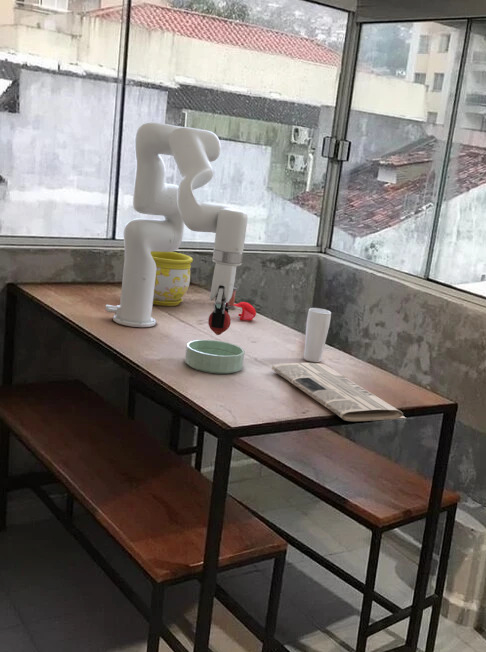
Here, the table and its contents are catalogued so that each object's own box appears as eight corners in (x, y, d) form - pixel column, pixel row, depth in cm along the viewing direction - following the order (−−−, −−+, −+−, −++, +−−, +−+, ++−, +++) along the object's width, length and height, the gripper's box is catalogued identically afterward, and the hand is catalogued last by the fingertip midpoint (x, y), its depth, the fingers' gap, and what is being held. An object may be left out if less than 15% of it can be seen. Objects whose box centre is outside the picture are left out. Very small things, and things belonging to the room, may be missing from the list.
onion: (224, 339, 211) (228, 309, 209) (203, 334, 212) (207, 305, 210) (231, 335, 216) (235, 305, 214) (211, 330, 217) (214, 301, 215)
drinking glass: (306, 363, 233) (314, 313, 230) (297, 356, 239) (304, 307, 235) (327, 363, 236) (335, 314, 233) (317, 357, 242) (325, 308, 238)
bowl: (179, 369, 208) (182, 350, 207) (190, 354, 223) (192, 336, 222) (238, 378, 209) (241, 359, 208) (245, 362, 224) (247, 345, 223)
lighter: (236, 308, 289) (239, 281, 286) (230, 309, 286) (233, 281, 283) (218, 303, 293) (222, 276, 290) (212, 303, 290) (216, 276, 287)
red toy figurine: (249, 317, 279) (252, 300, 277) (257, 321, 274) (260, 304, 273) (228, 316, 274) (231, 299, 273) (236, 321, 269) (239, 304, 268)
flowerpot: (122, 297, 276) (127, 250, 273) (160, 293, 292) (165, 248, 288) (161, 310, 268) (167, 261, 264) (198, 305, 283) (203, 259, 279)
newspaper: (271, 372, 218) (272, 362, 218) (332, 371, 229) (333, 362, 228) (341, 422, 189) (343, 410, 188) (407, 418, 199) (409, 408, 198)
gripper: (217, 250, 217) (209, 315, 222) (208, 259, 201) (199, 329, 205) (245, 255, 218) (236, 320, 222) (238, 264, 201) (228, 334, 205)
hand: (219, 324), depth 213 cm, fingers closed on onion, 6 cm apart
